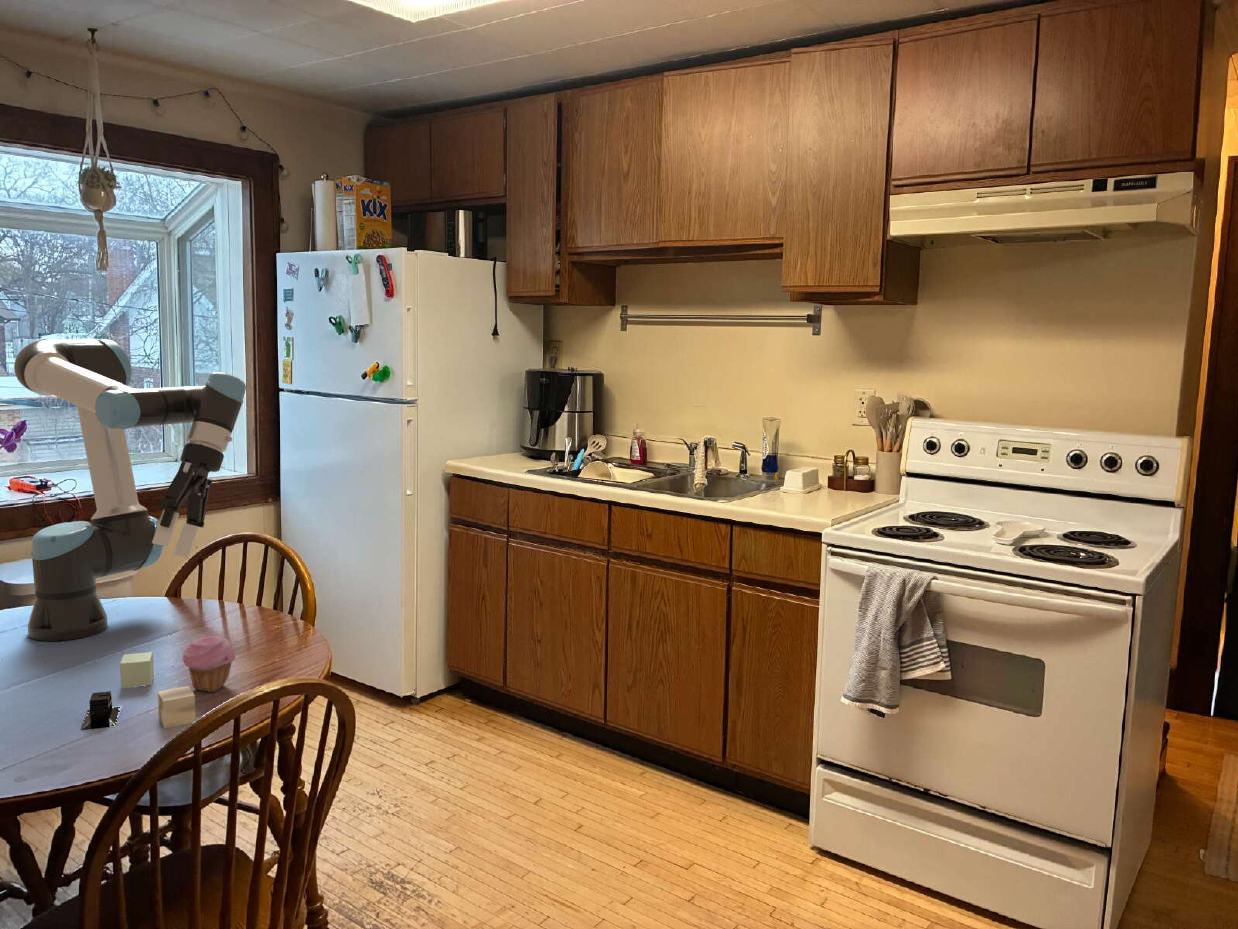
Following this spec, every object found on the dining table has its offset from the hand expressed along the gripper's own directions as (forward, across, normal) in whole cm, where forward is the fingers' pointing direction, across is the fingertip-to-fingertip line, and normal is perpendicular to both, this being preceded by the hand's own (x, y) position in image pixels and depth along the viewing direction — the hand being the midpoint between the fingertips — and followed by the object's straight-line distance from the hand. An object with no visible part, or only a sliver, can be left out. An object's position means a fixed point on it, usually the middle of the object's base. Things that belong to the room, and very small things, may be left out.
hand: (170, 550), depth 180 cm
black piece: (+32, -9, -1) cm, 33 cm away
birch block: (+29, -12, -14) cm, 35 cm away
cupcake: (+24, +1, -15) cm, 28 cm away
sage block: (+25, +5, 0) cm, 26 cm away
